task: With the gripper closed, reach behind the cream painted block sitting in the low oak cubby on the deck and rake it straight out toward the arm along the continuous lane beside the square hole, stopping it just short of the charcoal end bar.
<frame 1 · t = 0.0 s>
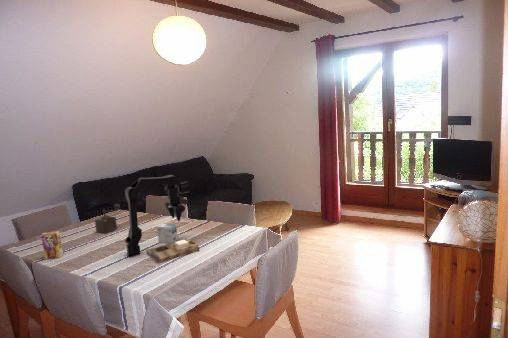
hand: (176, 219, 223), 15 cm above the table, fingers open, 9 cm apart
deck: (172, 251, 210), on the table
light bulb box: (168, 241, 228), on the table
candy box: (54, 257, 214), on the table
brown box: (110, 230, 259), on the table
cubby: (185, 245, 210), point 2 cm above the table
cream block: (182, 248, 209), point 2 cm above the table, touching deck
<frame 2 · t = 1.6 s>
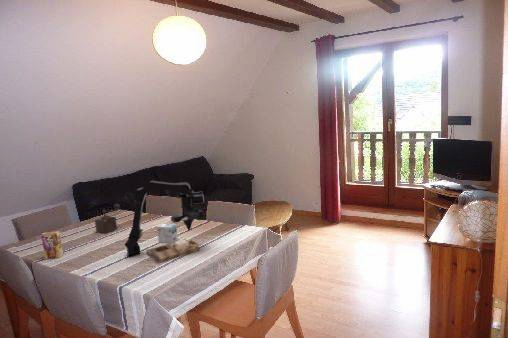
hand: (189, 230, 210), 12 cm above the table, fingers closed
nothing on the table moved.
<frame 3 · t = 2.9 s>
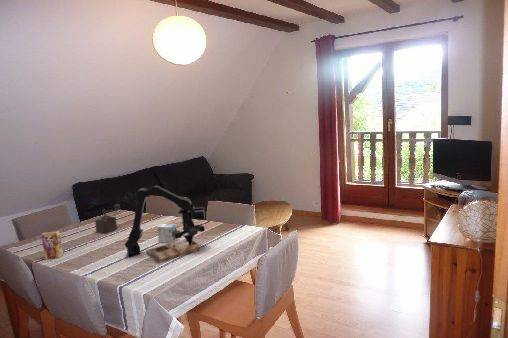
hand: (189, 245, 211), 3 cm above the table, fingers closed
cream block: (182, 248, 209), point 2 cm above the table, touching deck, gripper
everything else where it was.
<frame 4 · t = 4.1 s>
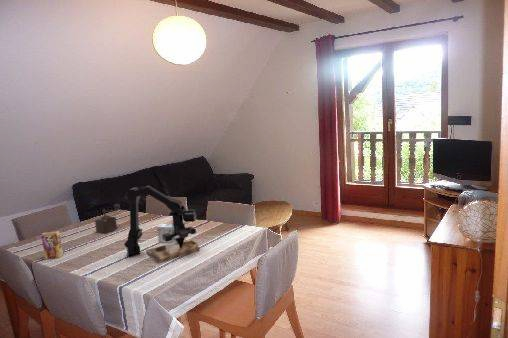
hand: (180, 247, 208), 3 cm above the table, fingers closed
cream block: (173, 251, 205), point 2 cm above the table, touching gripper
everything else where it was.
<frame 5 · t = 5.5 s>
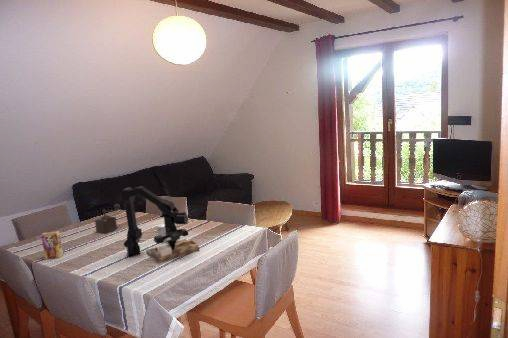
hand: (172, 250, 205), 3 cm above the table, fingers closed
cream block: (164, 253, 203), point 2 cm above the table, touching deck, gripper
everything else where it was.
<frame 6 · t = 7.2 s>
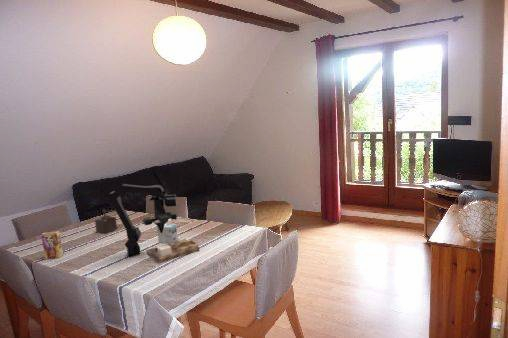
hand: (161, 232, 209), 12 cm above the table, fingers closed
cream block: (164, 253, 203), point 2 cm above the table, touching deck
everything else where it was.
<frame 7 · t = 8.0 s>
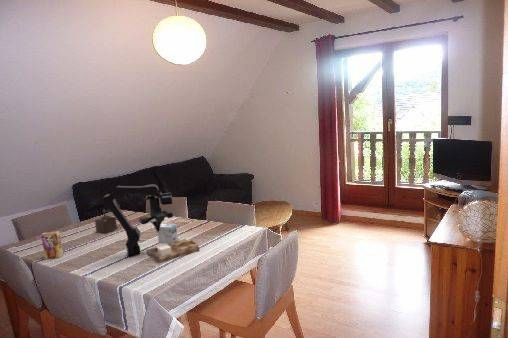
hand: (157, 231, 211), 12 cm above the table, fingers closed
nothing on the table moved.
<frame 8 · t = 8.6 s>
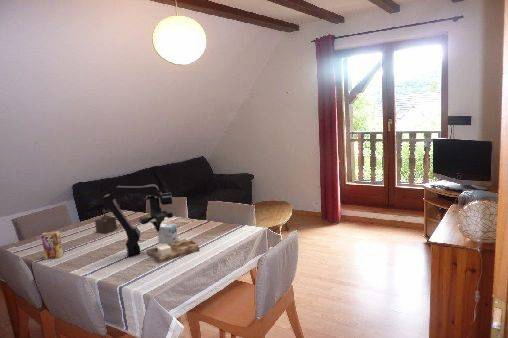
hand: (157, 231, 211), 12 cm above the table, fingers closed
nothing on the table moved.
at the end: cream block inside the target area on the deck (0.5 cm from its centre), point 2.0 cm above the deck's base; cream block tilted 0°; cream block moved 10.8 cm from its start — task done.
